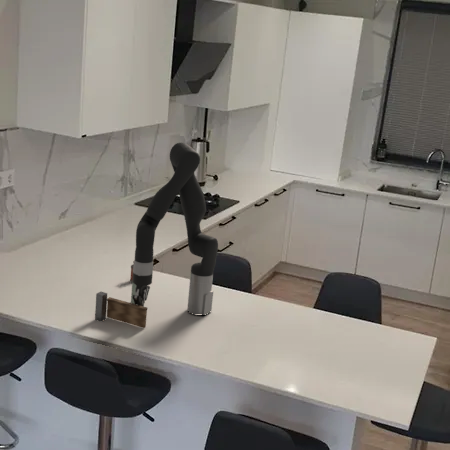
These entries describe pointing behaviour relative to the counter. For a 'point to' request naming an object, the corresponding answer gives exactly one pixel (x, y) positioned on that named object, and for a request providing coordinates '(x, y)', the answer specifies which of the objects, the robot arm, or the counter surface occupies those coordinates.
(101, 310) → the hinge post
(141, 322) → the gate
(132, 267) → the lighter
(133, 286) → the latch post
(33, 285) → the counter surface
